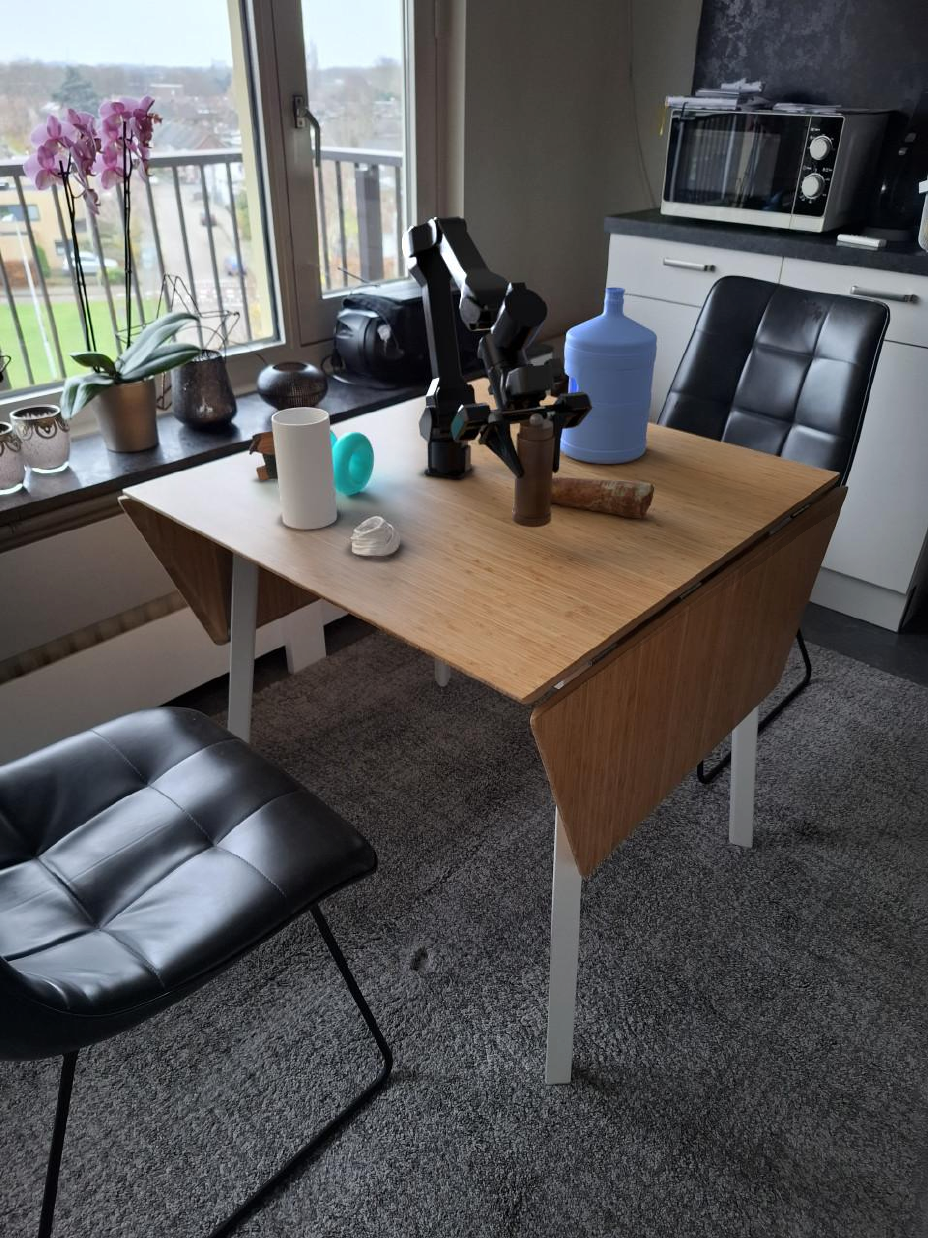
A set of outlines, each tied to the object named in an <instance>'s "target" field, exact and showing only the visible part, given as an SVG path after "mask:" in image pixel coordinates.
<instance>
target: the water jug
mask: <svg viewBox="0 0 928 1238" xmlns="http://www.w3.org/2000/svg"><path fill="white" fill-rule="evenodd" d="M625 292H626V288H623V287H618V286H617V287H613V286H612V287H607V288H605V293H606V295H605V298H604V310H603V312H602V314H600V315H597V316H596V317H593V318H591V319H589V320H586V321H584V322H582V323H580V324H578V325H575V326H573V327H571V328H570V329H569V330H568V331H567V332H566V336H565V342H564V355H563V356H564V365H563V366H564V368H565V375H567V376H568V377H569V378H568V392H567V393H574V392H582V391H583V392H584V393H586V394H587V395H588V396H589V397H590V400H591V404H592V407H593V408H592V409H591V411H590V412H589V413H588V414H587V416H586V417H585V418H584V419H583V421H582V422H581V423H580V424H579V425H578V426H576V427H574V428H567V429H563V431H562V436H561V445H560V451H561V452H562V453H563V454H564V455H566V456H567V457H569V458H571V459H574V460H576V461H579V462H585V463H589V464H595V465H596V464H597V465H617V464H625V463H629V462H633V461H635V460H637V459H639V458H641V457H642V456H643V455H644V454H645V452H646V448H647V432H648V425H649V424H648V423H649V416H650V415H649V413H650V409H651V404H652V403H651V402H652V389H653V379H654V370H655V362H656V358H657V348H658V346H657V345H658V344H657V343H658V337H657V333H656V332H655V331H654V330H652V329H650V328H648V327H646V326H644V325H643V324H641V323H639V322H637V321H635V320H634V319H632V318H630V317H628V316H626V315H625V313H624V304H625V298H624V297H625V296H624V294H625Z"/></svg>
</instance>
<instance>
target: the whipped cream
mask: <svg viewBox="0 0 928 1238" xmlns="http://www.w3.org/2000/svg"><path fill="white" fill-rule="evenodd" d="M353 531H354V533H353V534H352V536H350V539H351V541H352V542H351V546H352V547H351V553H353V554H354V555H356V556H364V557H371V556H377V557H383V556H387V555H388V556H389V555H392V554H393V553H394V552H396V551H397V550H398V548H399V545H400V536H399V534H398V531H397V530H396V529H395V528H394V526H393V525H392V524H391V523H387V520H385V518H383V517H381V516H372V517H369V518H367V519H366V520H364V521H363V522H361V524H359V526H357V527H356V528H354V529H353Z"/></svg>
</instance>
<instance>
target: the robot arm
mask: <svg viewBox="0 0 928 1238" xmlns="http://www.w3.org/2000/svg"><path fill="white" fill-rule="evenodd" d="M401 243H402V244H401V245H402V252H403V256H404V258H405V259H406V262H407V267H408V271H409V273H410V275H411V276H412V277H413V278H414V280H415V282H417V284H418V285H419V287H420V288H421V296H422V297H421V298H422V304H423V310H424V312H423V313H424V319H425V328H426V334H427V343H428V350H429V359H430V367H431V376H432V381H431V384H430V386H429V389H428V391H427V393H426V396H425V407H424V410H423V412H422V414H421V417H420V419H419V420H418V428H419V435H420V437H421V438H422V439H423V440H424V441H426V443H427V468H426V469H424V471H423V474H424V475H427V476H433V477H438V478H445V479H452V480H453V479H454V480H460V479H461V478H462V477H463V476H464V475H465V474H466V473H467V472H469V470H470V469H472V467H473V465H472V452H471V451H472V446H471V445H470V444H469V442H472V441H475V440H476V439H477V437H478V436H479V434H480V436H479V438H478V440H477V443H478V445H480V446H483V445H484V446H486V448H488V449H489V450H490V451H491V452H492V453H493V454H494V455H496V456H497V458H499V459H500V460H501V461H502V462H503V464H504V465H505V466H506V467H507V468H508V470H509V471H510V472H511V473H512V474H513V475H514V477H515V476H516V477H517V478H521V477H522V475H523V474H522V469H521V464H520V461H519V458H518V455H517V452H516V445H515V444H514V441H513V437H512V431H511V430H512V429H511V425H517V424H518V425H519V423H520V422H521V421H522V420H525V419H530V417H531V416H532V415H533V414H540V415H541V416H542V417H543V419H545V420H549V421H551V422H552V423H553V434H554V435H555V442H554V459H553V474H557V473H558V472H559V469H560V462H561V461H560V460H561V459H560V458H561V449H560V445H561V436H562V431H563V429H567V428H574V427H576V426H578V425H579V424H580V423H581V422H582V421H583V419H584V418H585V417H586V416H587V414H588V413H589V412H590V411H591V409H592V408H593V407H592V404H591V400H590V397H589V396H588V395H587V394H586V393H584V392H583V391H582V392H574V393H568V392H565V393H560V394H559V395H558V396H557V398H556V399H555V401H554V402H553V404H545V405H541V402H543V401H545V400H546V398H547V396H548V394H547V392H548V391H554V390H556V386H555V385H560V384H562V383H564V382H565V381H566V379H567V378H566V377H567V376H566V375H567V374H566V373H565V368H564V366H565V365H564V363H563V361H562V358H561V357H553V358H548V359H547V360H544V361H543V364H538V365H534V363H529V362H528V358H527V356H526V352H525V350H526V349H527V348H528V347H529V346H531V344H532V343H533V341H534V339H535V338H536V336H537V334H538V333H539V331H540V329H541V327H542V326H543V324H544V322H545V321H546V320H547V319H546V318H547V317H548V306H547V302H546V301H545V300H543V298H542V297H541V296H540V295H539V294H538V293H537V292H535V291H534V290H530V289H529V288H527V285H526V282H525V281H516V282H515V281H513V282H510V283H509V281H508V280H507V279H506V278H505V277H504V276H502V275H500V274H497V273H495V272H492V270H490V268H489V267H488V265H487V263H486V261H485V260H484V258H483V256H482V254H481V253H480V251H479V248H478V247H477V246H476V243H475V242H474V240H473V239H472V237H471V235H470V233H469V232H468V226H467V221H466V219H465V218H464V217H460V216H456V215H455V216H437V217H434V218H433V219H429V221H428V222H425V223H422V224H419V225H411V226H410V227H409V229H408V230H407V231H406V232H405V233H404V234H403V236H402V242H401ZM452 278H453V280H454V281H455V283H456V285H457V287H458V289H459V291H460V293H461V297H460V302H459V306H458V307H459V313H460V318H461V320H462V323H464V324H465V326H466V328H467V329H468V330H469V331H473V332H476V331H485V330H486V332H484V333H483V335H482V337H481V339H480V340H479V343H478V349H477V359H482V361H483V364H484V367H485V371H486V375H487V377H488V381H489V385H488V387H487V392H488V395H489V396H493V399H494V403H495V406H496V409H491V406H490V404H489V403H488V402H478V403H477V402H476V393H475V388H474V385H473V384H471V383H468V382H467V380H466V379H465V377H463V375H462V369H461V361H460V353H459V344H458V336H457V328H456V319H455V312H454V311H455V310H454V303H453V295H452V287H451V286H452V285H451V280H452Z"/></svg>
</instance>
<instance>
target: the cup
mask: <svg viewBox="0 0 928 1238" xmlns="http://www.w3.org/2000/svg"><path fill="white" fill-rule="evenodd" d="M330 420H331V419H330V414H329V412H328V411H326V410H324V409H321V408H317V407H293V408H286V409H283V410H282V409H281V410H279V411H277V412H275V413H273V414H272V416H271V427H272V431H273V438H274V446H275V455H276V464H277V473H278V479H277V482H278V490H279V499H280V508H281V516H282V522H283V524H284V525H285V526H287V527H288V528H292V529H297V530H317V529H321V528H326V527H328V526H330V525H332V524H333V523H335V522H336V521H337V519H338V510H337V509H338V508H337V497H336V488H335V483H334V470H333V457H332V444H331V432H330V429H331V421H330Z"/></svg>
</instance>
